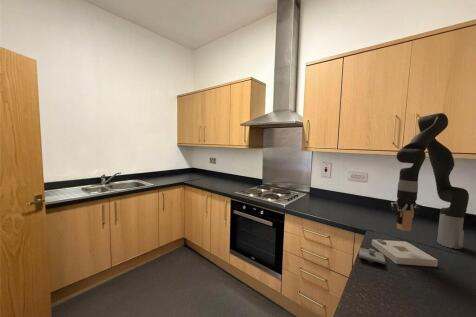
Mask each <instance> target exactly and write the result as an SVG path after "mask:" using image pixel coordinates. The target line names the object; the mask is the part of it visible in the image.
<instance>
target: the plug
mask: <svg viewBox="0 0 476 317" xmlns="http://www.w3.org/2000/svg"><path fill="white" fill-rule="evenodd" d="M399 209H400V208H399ZM400 210H402V209H400ZM412 217H413V211H411V210H404V213H403V215H402V224H398V223H397V222H396V227H395V228H396V229H398V230H400V231H403V232H411V231H412V226H413V225H412V224H413V222H412ZM413 218H414V217H413Z"/></svg>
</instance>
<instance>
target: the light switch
mask: <svg viewBox="0 0 476 317" xmlns="http://www.w3.org/2000/svg"><path fill="white" fill-rule="evenodd" d="M358 255H359V256H358V257H359V258H361V259H363V260H366V261H367V263H369V264H374V263H375V262H376V263H379V264H382V265H386V259H385V255H384V254H383V253H382V252H380V251H376V250H375V249H373V248H368V249H367V248H365V247H358Z"/></svg>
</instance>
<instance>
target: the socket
mask: <svg viewBox="0 0 476 317" xmlns="http://www.w3.org/2000/svg"><path fill="white" fill-rule="evenodd" d="M371 246H372V247H374V248H375V249H376V250H378V252H380V253H383V255H384V257H387V258H388V259H389V260H391V261H392V262H393V263H394V264H396V265H406V266H407V265H409V266H411V265H412V266H423V267H435V268H436V267H438V265H439V264H438V263H439V260H438V259H437V258H435V257H433V256H431V255H430V254H428V253H426V252H424V251H423V250H422V249H420V248H418V247H416V246H414V245H413V244H412V243H409V242H408V241H401V240H387V239H380V238H376V239H371Z"/></svg>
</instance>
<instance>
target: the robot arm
mask: <svg viewBox="0 0 476 317" xmlns="http://www.w3.org/2000/svg"><path fill="white" fill-rule="evenodd" d="M448 125H449V118H448V116H447V115H446V114H445V113H443V112H442V113H441V112H439V113H433V114H428V115H425V116H424V115H423V116H420V117H419V118H418V119H417V126H418V129H419V133H418V134H416V135H415V136H414V137H413V138H412V139H411V141H410V142H409V143H407V144H405V145H404V146H402V147H401V148H400V149H399V150H398V151H397V152H396V159H397V161H398V162H399V163H403V164H412V165H411V167H401V168H400V171H399V176H398V177H399V178H398V184H397V190H396V191H397V192H396V199H397V200H396V201H395V202H390V203H389V204H390V208H391V212H392V214H393V215H395V216H396V224H397V223H398V224H402V215H403V213H404V210H411V211H413V217H412V223H413V220H414V218H415V217H418V216H419V214H420V212H421V210H422V208H423V205H422V204H419V203H417V202H416V201H417V200H418V192H419V176H420V175H419V174H420V171H421V168H422V166H423V165H424V164H423V163H424V162H425V160H426V157H427V154H428V157H429V161H430V165H431V167H432V168H431V169H432V171H433V175H434V180H435V185H436V194H437V196H438V198H439V199H440V200H441V201H443V202H447V203H449V206H448V207H442V208H440V210H439V211H440V212H439V220H438V230H437V241H436V243H437V242H438V243H439V245H440V244H441V245H440V246H443V247H447V248H450V249H453V248H454V249H455V250H460V249H463V248H464V247H463V246H464V238H465V231H464V229H463V228H464V222H465V221H464V219H465V214H466V213H467V209H468V205H469V200H470V199H469V198H470V194H469V191H468V190H467V189H465V188H462V187H458V186H453V185H452V184H451V179H450V175H451V172H453V169H454V168H455V159H454V156H453V153H452V151H451V150H450V149H449V148H448V147H447V146H445V145H444V144H443V143H441V142H440V141H438V139H436V138H437V137H438V136H439V135H440V134H441V133H442V132H444V131H445V130H446V128H447V127H448ZM425 151H427V154H426V152H425ZM399 208H400V209H402V210H400V209H399ZM438 243H437V244H438Z"/></svg>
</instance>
